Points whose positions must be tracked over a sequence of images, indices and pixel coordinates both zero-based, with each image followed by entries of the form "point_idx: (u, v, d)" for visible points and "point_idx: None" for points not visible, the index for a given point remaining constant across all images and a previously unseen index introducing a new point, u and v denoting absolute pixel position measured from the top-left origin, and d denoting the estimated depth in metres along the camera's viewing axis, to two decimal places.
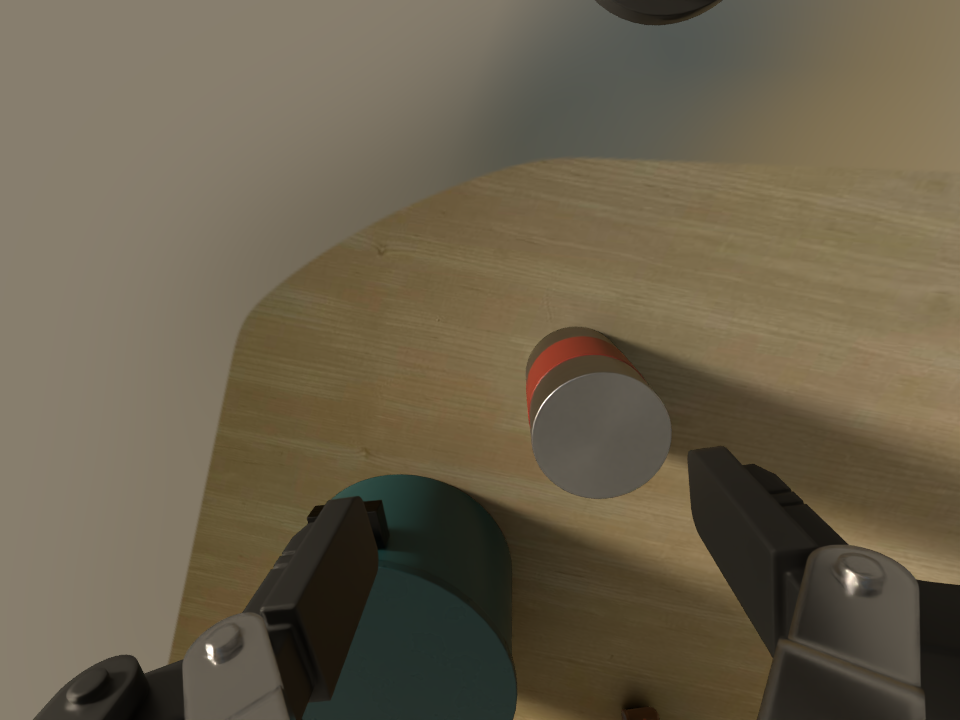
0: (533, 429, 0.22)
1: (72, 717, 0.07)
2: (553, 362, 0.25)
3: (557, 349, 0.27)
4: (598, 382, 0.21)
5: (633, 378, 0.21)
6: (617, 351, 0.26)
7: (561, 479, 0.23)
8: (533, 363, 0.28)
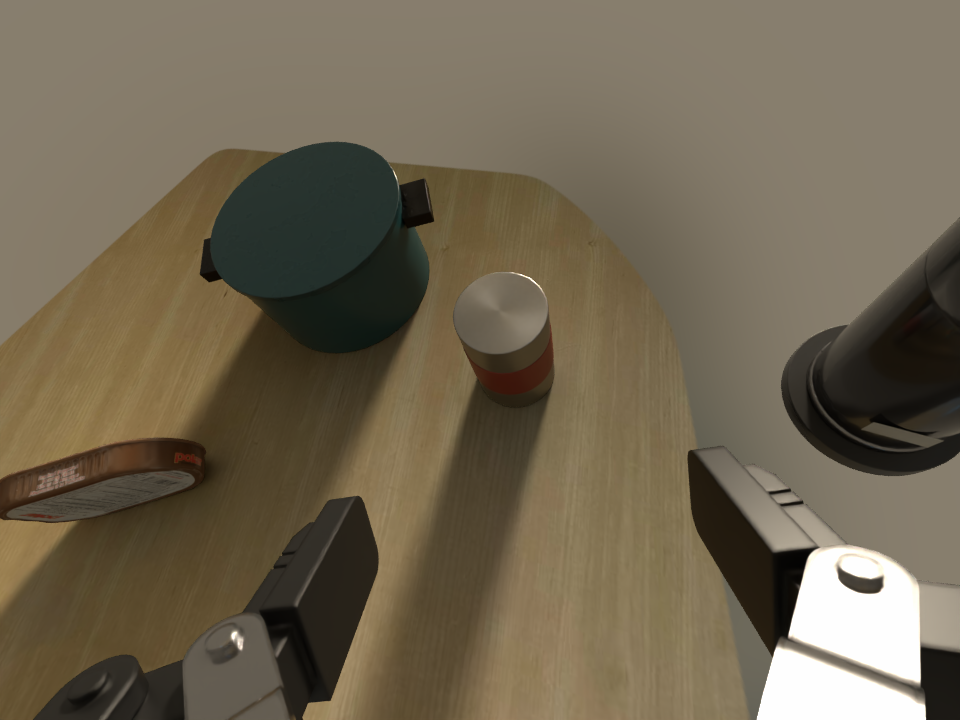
0: (502, 272, 0.33)
1: (72, 717, 0.07)
2: None
3: None
4: (540, 302, 0.31)
5: (545, 322, 0.31)
6: (548, 362, 0.35)
7: (467, 293, 0.33)
8: None
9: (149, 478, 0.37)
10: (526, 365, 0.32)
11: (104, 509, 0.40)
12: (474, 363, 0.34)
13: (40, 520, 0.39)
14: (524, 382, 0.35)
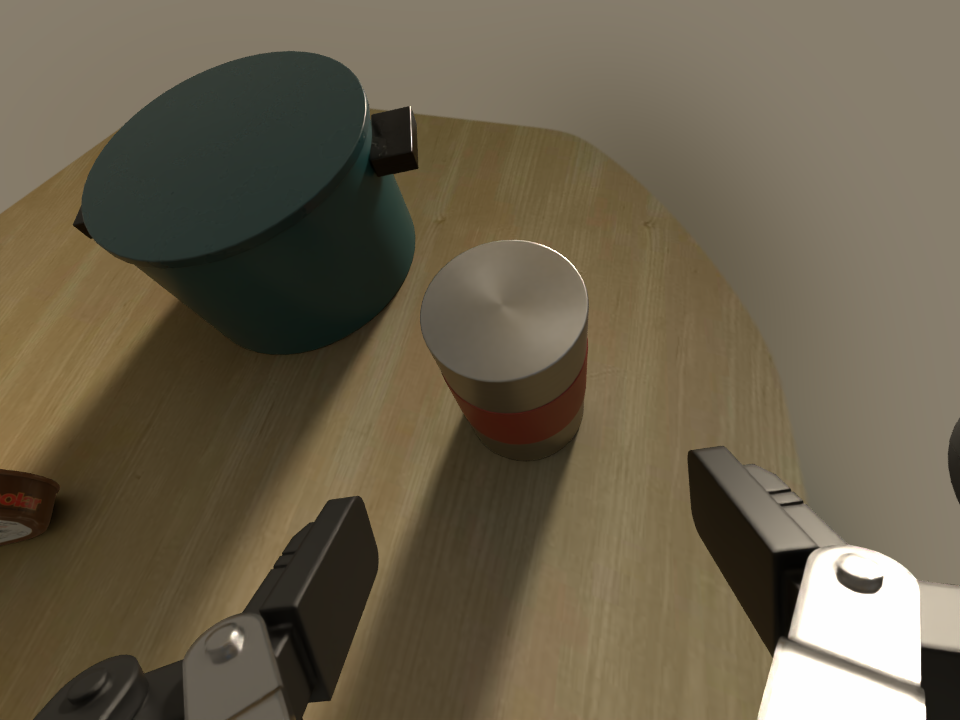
0: (512, 240, 0.19)
1: (72, 717, 0.07)
2: None
3: None
4: (574, 294, 0.17)
5: (582, 329, 0.17)
6: (578, 398, 0.21)
7: (448, 272, 0.19)
8: None
9: None
10: (541, 403, 0.19)
11: None
12: (453, 391, 0.20)
13: None
14: (535, 428, 0.21)
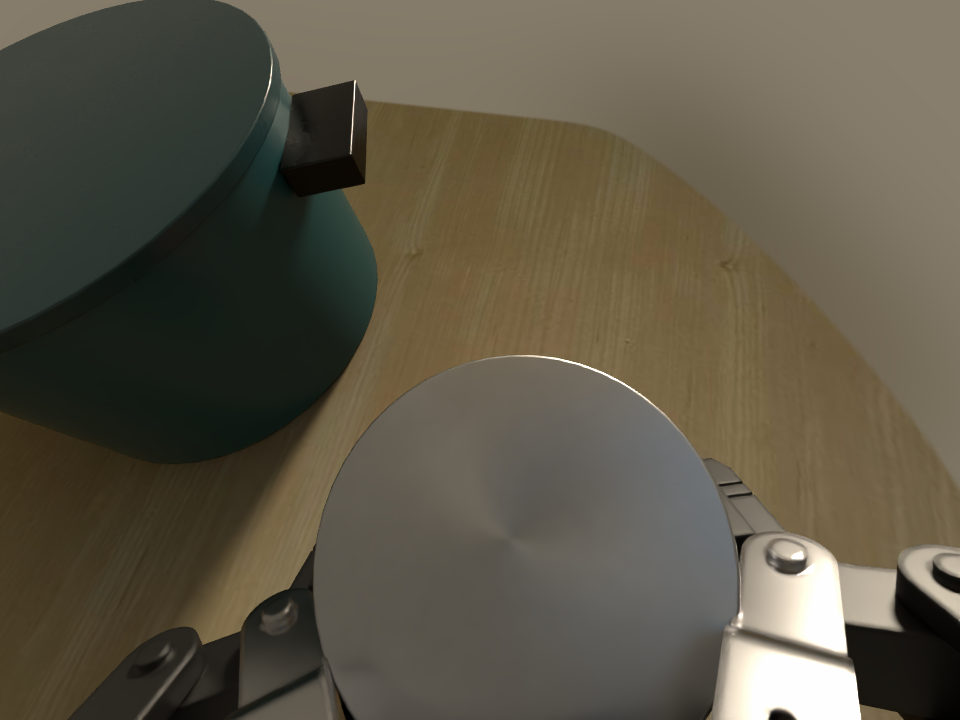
0: (533, 357, 0.09)
1: (137, 682, 0.07)
2: None
3: None
4: (697, 524, 0.07)
5: None
6: None
7: (388, 432, 0.08)
8: None
9: None
10: None
11: None
12: None
13: None
14: None
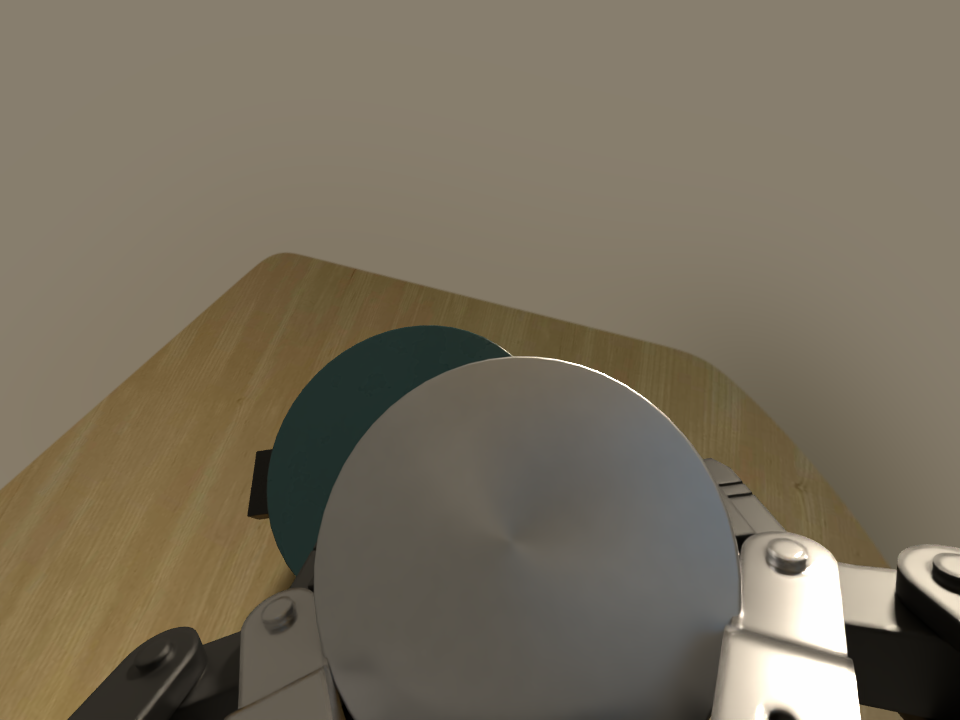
0: (534, 358, 0.09)
1: (137, 683, 0.07)
2: None
3: None
4: (699, 525, 0.07)
5: None
6: None
7: (389, 433, 0.08)
8: None
9: None
10: None
11: None
12: None
13: None
14: None
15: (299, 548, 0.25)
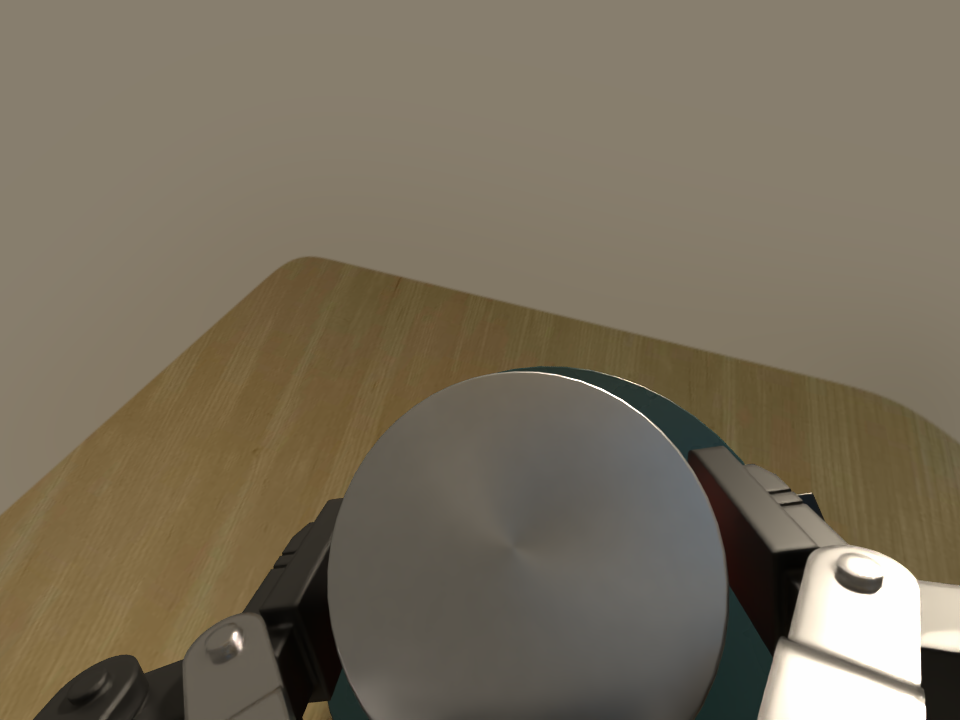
0: (535, 373, 0.09)
1: (72, 717, 0.07)
2: None
3: None
4: (689, 534, 0.07)
5: (722, 650, 0.07)
6: None
7: (397, 445, 0.09)
8: None
9: None
10: None
11: None
12: None
13: None
14: None
15: None
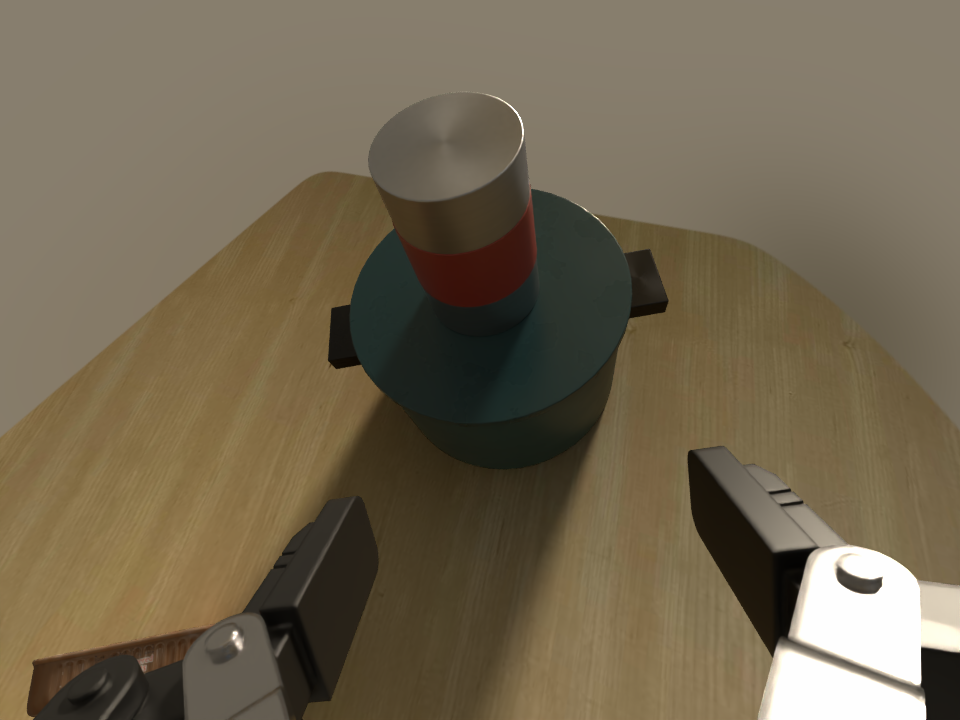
0: (457, 92, 0.20)
1: (72, 717, 0.07)
2: None
3: None
4: (511, 129, 0.19)
5: (516, 156, 0.18)
6: (525, 255, 0.22)
7: (397, 120, 0.20)
8: None
9: None
10: (484, 241, 0.20)
11: None
12: (404, 240, 0.21)
13: None
14: (484, 282, 0.22)
15: (388, 372, 0.26)
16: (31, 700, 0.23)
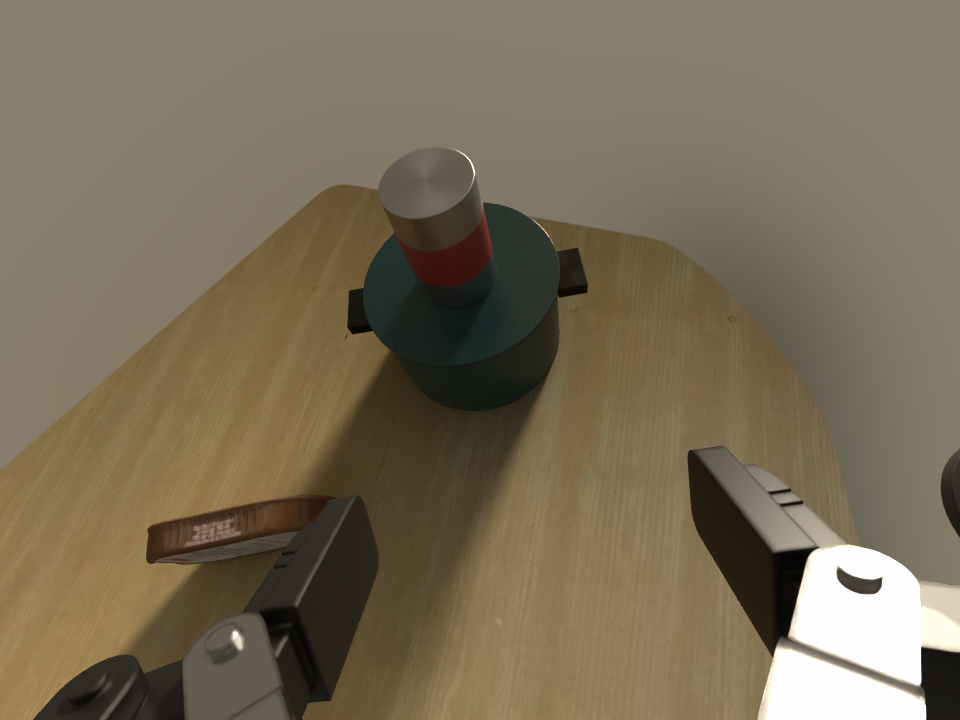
0: (435, 147, 0.32)
1: (72, 718, 0.07)
2: None
3: None
4: (467, 173, 0.30)
5: (469, 190, 0.29)
6: (481, 252, 0.34)
7: (396, 165, 0.32)
8: None
9: (293, 533, 0.37)
10: (451, 242, 0.31)
11: (234, 554, 0.40)
12: (401, 241, 0.32)
13: (176, 562, 0.39)
14: (453, 269, 0.33)
15: (390, 333, 0.38)
16: (151, 549, 0.35)
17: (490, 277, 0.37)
